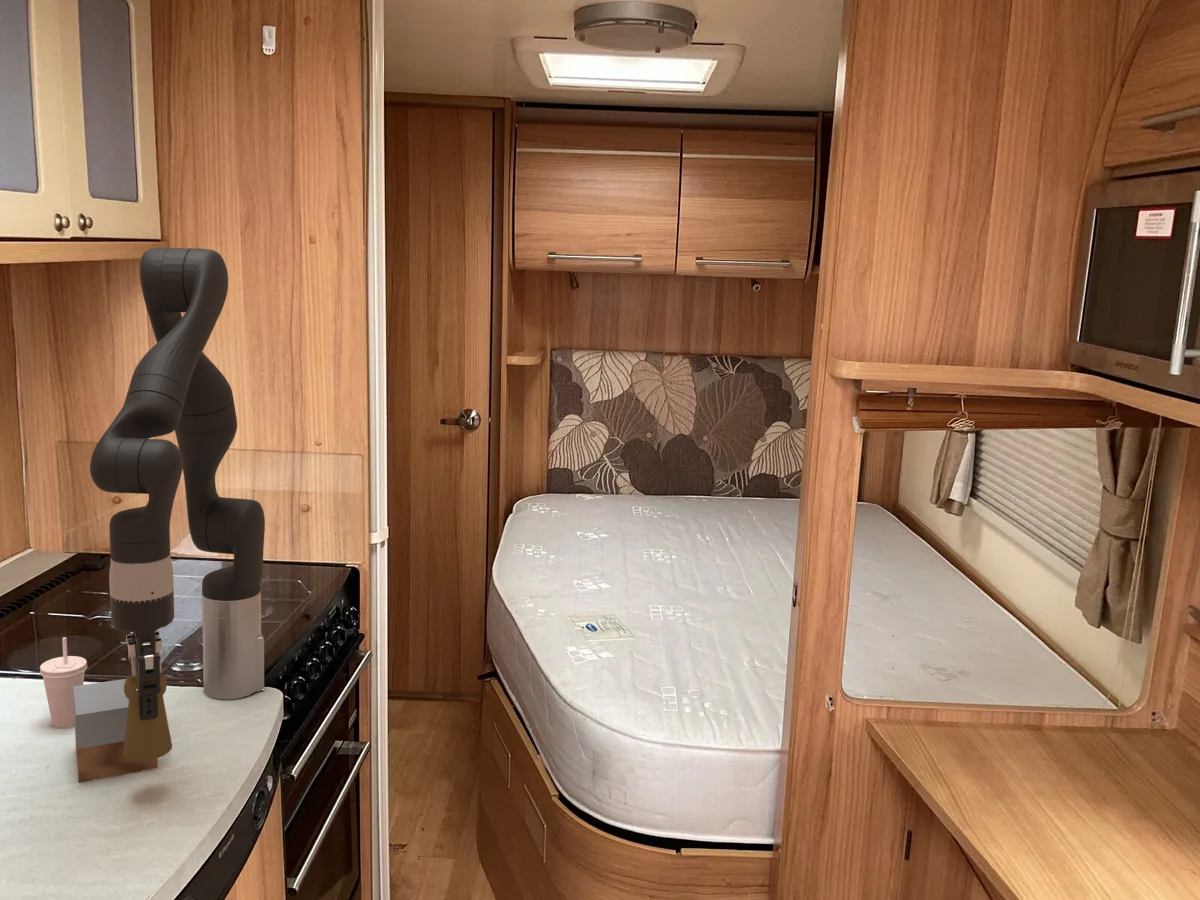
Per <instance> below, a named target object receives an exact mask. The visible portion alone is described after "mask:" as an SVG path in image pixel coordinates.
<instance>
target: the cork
mask: <svg viewBox="0 0 1200 900" xmlns="http://www.w3.org/2000/svg"><path fill="white" fill-rule="evenodd" d="M125 679H126V681H125V684H124V693H125V696H126V697H127V698H128V699H129V705H128V713H127V722H126V731H125V740H124V749H123V755H124V757H125V758H127V759H129V760H133V761H148V760H153V759H157V758H158V759H159V758H161V757H164V756H165V755H168V754H169V753H170V752H171V751H172V749H173V743H172V739H171V738H172V737H171V733H170V727H169V721H168V717H167V710H166V706H165V700H164V694H165V693H166V692H167V687H168V685H167V684H168V683H167V681H168V680H167V678H166V676H165V674H164V673H163V672H162V671H161V672H160V686H161V690H160V693H157V699H158V717H157V718H155V719H151V720H145V721H142V720H140V718H139V700H138V692H136V689H137V678H136V677H134V676H133V675H132V673H131V674H129V675H128V677H126V678H125ZM152 683H153V680H148V681H144V682H143V685H146V684H152Z"/></svg>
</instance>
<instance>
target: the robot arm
mask: <svg viewBox="0 0 1200 900" xmlns="http://www.w3.org/2000/svg"><path fill="white" fill-rule="evenodd" d="M139 280H140V287H141V293H142V297H143V300H144V303H145V307H146V310H147V314H148V317H149V321H150V324H151V327H152V330H153V334H154V337H155V340H156V341H155V342H156V343H155V344H154V345H153V346H152V347H151V348H150V349H149V350H148V351H147V352H146V353H145V355H143V357H142V358H141V359H140V360H139V362H138V363H137V365H136V366H135V368H134V371H133V374H132V377H131V380H130V382H129V386H128V389H127V392H126V396H125V400H124V402H123V406H122V407H121V409H120V410H119V412H118V414H117V415H116V416H115V418H114V419H113V421H112V422H111V424H109V426H108V428H107V429H106V431H105V432H104V433H103V435H102V436H101V437H100V439H99V440H98V442H97V443H96V445H95V447H94V449H93V451H92V454H91V458H90V463H89V474H90V476H91V480H92V481H93V483H94V484H95V486H96V487H97V488H98V489H100V490H101V491H103V492H106V493H113V494H137V495H138V494H139V495H143V494H144V495H148V500H147V504H146V505H144V506H138V507H134V508H133V507H132V508H128V509H124V510H120V511H118V512H116V513H115V514H113V515H112V516H111V519H110V520H109V546H110V547H109V550H110V566H109V575H108V576H109V578H108V579H109V598H110V599H109V601H110V602H109V603H110V621H111V622H110V623H111V626H112V627H113V628H114V629H116V630H118V631H121V632H124V633H129V634H127V635H126V637H125V638H126V639H125V640H126V647H127V650H128V651H127V652H128V662H129V664H130V665H131V674H132V675H133V676H134V677H136V678H137V689H136V692H138V700H139V718H140V720H142V721H145V720H151V719H155V718H157V717H158V699H157V693H160V690H161V686H160V672H162V659H161V658H162V657H161V652H162V649H163V646H162V645H163V642H162V641H163V640H162V637H161V636H160V630H159V629H162V628H166V627H167V626H169V625H170V624H172V622H173V621H174V619H175V596H174V595H175V594H174V593H175V592H174V571H173V563H172V557H171V539H170V538H171V537H170V536H171V534H170V532H171V529H170V528H171V527H170V525H171V518H172V511H173V506H174V502H175V497H176V494H177V490H178V487H179V484H180V480H181V477H182V473H183V480H184V490H185V500H186V501H185V502H186V511H187V521H188V522H187V523H188V529H189V535H190V537H191V541H192V543H193V545H194V547H195V548H196V549H197V550H199V551H203V552H205V553H206V552H207V553H215V554H225V555H226V554H227V555H233V563H232V565H230V566H227V567H222V568H219V569H216V570H213V571H211V572H209V573H207V574H206V575H204V576H203V578H202V581H201V593H202V594H201V608H202V616H201V617H202V620H201V621H202V663H203V664H202V666H203V667H202V671H203V679H202V683H203V693H204V694H205V695H206V697H209V698H212V699H217V700H236V699H242V698H245V696H246V697H249V696H251V695H250V694H252V693H254V692H256V691H258V690H262V689H264V690H265V638H264V636H263V634H262V598H261V597H262V594H261V593H262V577H263V571H264V551H265V550H264V547H265V532H266V531H265V529H266V519H265V511H264V508H263V506H262V504H261V503H260V502H259V501H258V500H254V499H249V498H235V497H223V496H222V497H221V496H220V495H219V494H218V491H217V486H216V474H217V470H218V468H219V466H220V464H221V462H222V461H223V459H224V457H225V455H226V453H227V452H228V450H229V448H231V447H230V446H231V445H232V443H233V441H234V439H235V437H236V434H237V431H238V418H237V417H238V416H237V414H236V407H235V400H234V394H233V390H232V387H231V385H230V383H229V381H228V380H227V378H226V377H225V376H224V374H223V373H222V372H221V370H219V368H218V367H217V366H216V365H215V364H214V363H213V362H212V360H211V359H210V358H209V357H208V356H207V355H206V353H204V352H203V351H204V349H205V346H206V345H207V343H208V341H209V339H210V337H211V335H212V332H213V330H214V327H215V326H216V324H217V321H218V319H219V317H220V316H221V313H222V312H223V311H222V310H223V309H224V306H225V302H226V300H227V296H228V290H229V273H228V268H227V265H226V262H225V260H224V257H223V256H222V255H221V254H220V253H219V252H218V251H217V250H214V249H208V248H197V247H194V248H193V247H192V248H191V247H189V248H188V247H152V248H149V249H147V250H145V252H144V253H143V254H142V256H141V259H140V262H139ZM182 313H184V315H182ZM173 432H175V437H176V441H177V445H176V443H173V442H172V441H170V440H167V439H163V438H161V439H160V438H157V437H161V436H162V437H163V436H166V435H169V434H171V433H173ZM148 680H153V683H152V684H146V685H143V682H144V681H148ZM258 692H259V691H258ZM256 693H257V692H256ZM254 694H255V693H254ZM252 695H253V694H252Z"/></svg>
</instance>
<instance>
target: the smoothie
mask: <svg viewBox="0 0 1200 900" xmlns="http://www.w3.org/2000/svg"><path fill="white" fill-rule="evenodd" d="M67 639H68V638H67V637H65V636H64V637H62V639H61V640H62V656H58V657H53V658H51V659H49V660H46V661H44V662H43V663H41V665H40V666H39V670H40V671H39V674H40V676H42V678H43V679H42V680H43V684H44V688H45V694H46V699H47V704H48V708H49V714H50V719H51V720H50V721H51V724H52V726H53V727H54V728H57V729H67V728H70V727H71V728H72V727H75V718H74V694H73V686H79V685H84V681H85V672H86V670H87V669H88V664H87V663H88V661H87V659H86V658H84V657H82V656H78V655H77V656H76V655H68V644H67V643H68V642H67V641H68V640H67Z"/></svg>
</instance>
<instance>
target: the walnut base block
mask: <svg viewBox="0 0 1200 900" xmlns="http://www.w3.org/2000/svg"><path fill="white" fill-rule="evenodd" d="M74 734H75V735H74V738H75V756H76V769H77V779H78V784H79V783H85V782H90V780H91V781H95V780H94V779H96V780H101V779H106V778H105V777H107V778H111V777H117V776H122V774H123V775H128V774H132V773H134V774H135V773H137V772H143V770H144V771H148V770H154V769H159V765H158V764H159V762H158V759H159V758H157V759H153V760H148V761H133V760H129V759H127V758H125V757H124V755H123V749H124V741H122V742H116V743H111V744H105V745H99V746H93V747H87V748H81V749H77V741H76V730H75V729H74ZM100 778H101V779H100Z"/></svg>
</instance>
